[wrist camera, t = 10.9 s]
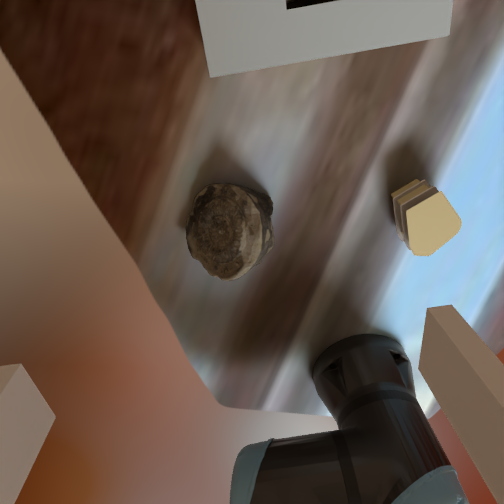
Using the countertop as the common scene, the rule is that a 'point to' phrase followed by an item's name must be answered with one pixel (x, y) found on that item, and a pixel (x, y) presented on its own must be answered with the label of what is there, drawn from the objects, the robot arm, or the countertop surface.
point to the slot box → (311, 29)
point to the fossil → (230, 229)
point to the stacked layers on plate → (424, 217)
